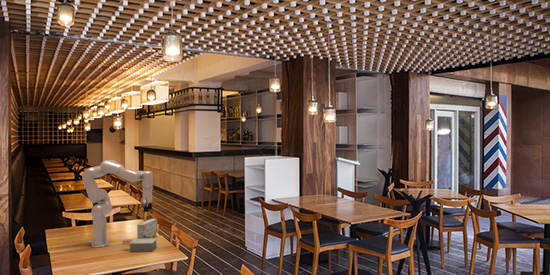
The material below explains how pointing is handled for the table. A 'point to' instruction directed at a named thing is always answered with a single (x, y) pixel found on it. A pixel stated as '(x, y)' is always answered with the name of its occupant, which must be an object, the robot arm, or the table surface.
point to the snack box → (147, 229)
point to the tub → (142, 247)
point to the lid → (139, 241)
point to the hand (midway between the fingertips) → (148, 210)
